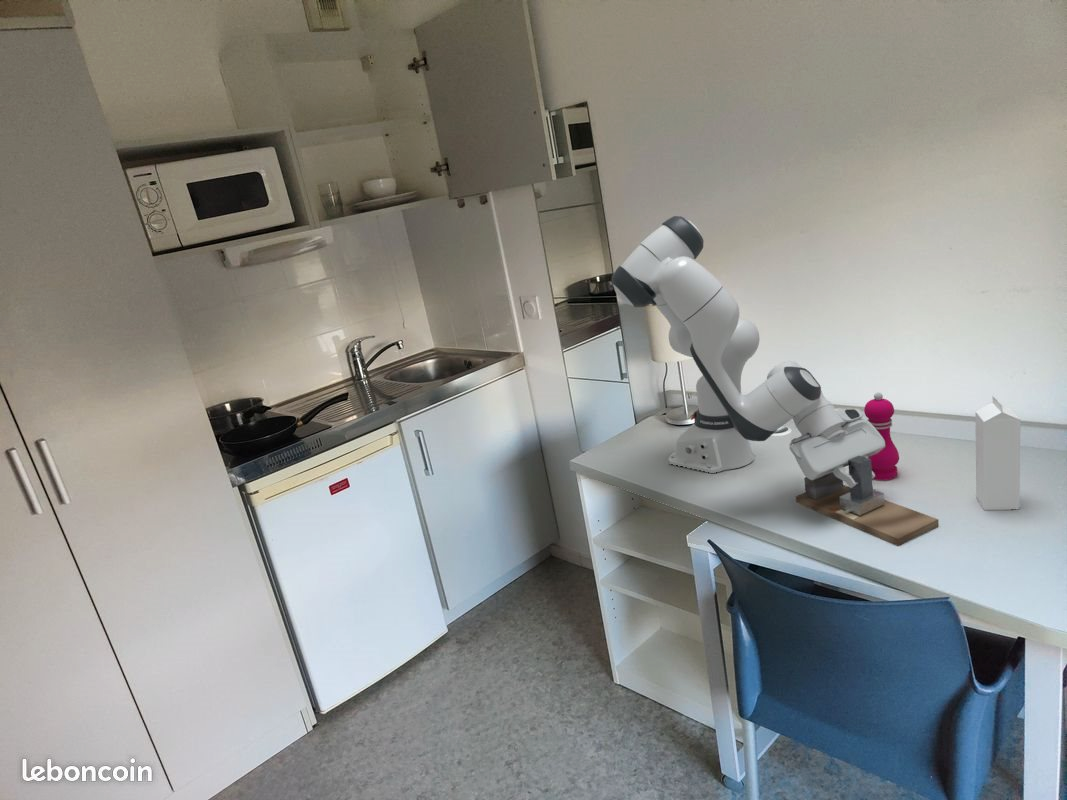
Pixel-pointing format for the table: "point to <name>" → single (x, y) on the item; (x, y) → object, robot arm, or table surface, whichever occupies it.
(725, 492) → the table surface
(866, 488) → the handle
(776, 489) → the table surface
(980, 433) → the milk
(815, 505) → the base
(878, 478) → the pepper mill
